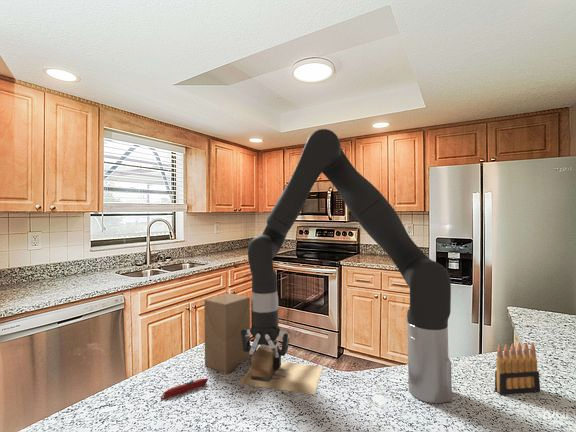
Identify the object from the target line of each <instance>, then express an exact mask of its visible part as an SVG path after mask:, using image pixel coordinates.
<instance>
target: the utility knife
mask: <svg viewBox="0 0 576 432" xmlns="http://www.w3.org/2000/svg"><path fill="white" fill-rule="evenodd" d="M208 379H209V378H200V379H198V380H191V381H189V382H187V383H186V382H185V383H184V384H180V385H177V386H174V387H171V388H169V389H167V390H166V391H164V392H163V393H162V395H161V397H160V400H166V399H168V398H171V397H175V396H178V395H182V394H185V393H187V392H190V391H193V390H197V389H199V388H203V387H205V386H206V385H207V383H208Z"/></svg>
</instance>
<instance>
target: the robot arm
mask: <svg viewBox="0 0 576 432" xmlns="http://www.w3.org/2000/svg"><path fill="white" fill-rule="evenodd" d="M321 174H322V175H324V176H325V178H327V180H329V182H330V183H331V184H332V185H333V186H334V188H335V189H336V191H337V192H338V194H339V196H340V198H341V199H342V201H343V202H344V204H345V206H346V207H347V209H348V210H349V211H350V213H351V215H352V216H353V218H354V219H355V220H356V221H357V222H358V223H359V225H360V227H361V228H362V229H363V230H364V231H365V232H366V233H367V234H368V235H369V236H370V238H371V239H372V240H373V241H374V242H375V243H376V244H377V245H378V246H379V247H380V248H381V249H382V250H383V251H384V252H385V253H386V254H387V255H388V256H389V258H390V260H391V261H392V262H393V264H394V266H396V268H397V270H398V271H399V273H400V274H401V277H402V278H403V280H404V282H405V283H406V285H407V286H408V287H409V308H408V309H407V312H406V319H407V320H406V321H407V322H406V323H407V325H406V326H407V329H406V330H407V372H408V373H407V374H408V377H407V378H408V379H407V382H408V391H409V393H410V394H411V395H412V397H415V398H416V399H418V400H420V401H423V402H427V403H430V404H443V403H447V402H448V403H452V402H453V391H452V390H453V387H452V386H453V385H452V361H451V359H450V358H449V319H450V316H451V307H452V305H451V302H452V301H451V300H452V299H451V298H452V286H451V285H452V284H451V277H450V273H449V272H448V270H447V269H446V268H445V266H443V265H442V264H440V263H438V262H437V261H434V260H433V259H431V258H430V257H428V255H426V254H425V253H424V251H422V250H421V248H420V247H419V246H418V245H417V244H416V243H415V241H413V240H412V238H411V237H410V235H409V233H408V232H407V229H406V228H405V226H404V224H403V222H402V220H401V218H400V216H399V215H398V213H397V212H396V210H395V209H394V208H393V206H392V205H391V204H390V203H389V200H387V199H386V197H385V196H384V195H383V194H382V193H381V192H380V191H379V190H378V189H377V187H376V186H375V185H374V184H373V183H372V182H370V181H369V180H368V179H367V178H366V177H365V176H363V175H362V174H361V173H360V172H359V171H358V170H357V169H356V168H355V167H354V165H353V164H352V163H351V161H350V160H349V158H348V157H347V155H346V154H345V152H344V150H343V149H342V147H341V143H340V139H339V137H338V135H337V134H336V133H335V132H334V131H332V130H330V129H327V128H320V129H317V130H315V131H314V132H312V133H311V134H310V135H309V136H308V138H307V140H306V142H305V144H304V147H303V150H302V153H301V155H300V157H299V160H298V162H297V165H296V167H295V169H294V172H293V173H292V175H291V177H290V179H289V180H288V182H287V184H286V186H285V187H284V189H283V190H282V193H281V195H280V196H279V198H278V199H277V200H276V203H275V204H274V206H273V208H271V209H272V210H271V211H270V213H269V214H268V217H267V219H266V226H265V228H264V230H263V232H262V234H261V235H259V236H258V235H257V236H255V237H253V239H251V240H250V242H249V244H248V246H247V259H248V263H249V264H248V265H249V270H250V273H251V299H250V325H251V326H250V328H247V327H245V328H244V329H243V330H242V331H241V337H242V344H243V350H244V352H249V353H250V358H249V359H250V362H249V364H250V365H251V356H252V355H253V354H254V353H255V352H256V350H257V349H258V348H259V346H261V345H267V346H270V348H271V350H272V351H273V353H274V355H275V357H274V370H275V371H277V370H278V369H279V368H280V366H281V362H282V356H283V357H284V356H286V355H287V353H288V350H289V345H290V344H289V341H290V336H291V333H290V331H289V330H286V331H282V330H281V328H280V327H279V296H278V275H277V272H276V271H275V270H274V261H273V260H274V259H273V258H275V257H276V256H277V254H278V253H279V251H280V250H281V248H282V246H283V244H284V242H285V240H286V237H287V234H288V233H289V231H290V230H291V229H292V227H293V225H294V223H295V222H296V220H297V218H298V217H299V215H300V214H301V211H302V210H303V207H304V206H305V203H306V202H307V199H308V197H309V194H310V192H311V191H312V188H313V187H314V185H315V183H316V181H317V179H319V177H320V175H321ZM249 335H250V336H252V337H253V339H254V340H253V342H252V344H251V338H250V339H249ZM278 337H280V340H281V341H282V343H281V347H280V343H279V341H278V339H277V338H278Z"/></svg>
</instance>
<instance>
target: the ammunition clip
mask: <svg viewBox="0 0 576 432" xmlns="http://www.w3.org/2000/svg"><path fill="white" fill-rule="evenodd" d="M536 351H537V349H536V346H535V344H534V342H531V343H530V345H528V343H527V342H525V343H524V344H523V348H522V345H521V342H518V343H517V346H515V344H514V343H511V345H510V347H509V345H508V343H506V344H504V349H503V347H502V344H501V343H499V344H498V345H497V352H496V353H497V354H496V364H495V365H496V366H495V368H496V370H495V371H494V391H495V392H497V393H498V394H499V395H501V396H503V395H506V396H507V395H519V394H520V395H521V394H531V393H532V394H533V393H541V383H540V371H539V370H538V359H537V353H536Z"/></svg>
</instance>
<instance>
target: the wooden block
mask: <svg viewBox="0 0 576 432" xmlns="http://www.w3.org/2000/svg"><path fill="white" fill-rule="evenodd" d="M203 302H204V304H203V306H204V307H203V308H204V309H203V311H204V324H203V325H204V365H205V366H206V367H209V368H210V369H212V370H215V371H217V372H219V373H220V374H221V373H222V374H224V375H229V374H230V373H232V372H234V371H236V369H237V368H238V367H239V366H240V365H241V363H243V362H244V361H247V360H249V359H250V353H249V352H244V350H243V344H242V337H241V331H242V330H243V329H244V328H245V327H247V328H251V299H250V297H249V296H245V295H240V294H235V293H224V294H220V295H217V296H212V297H208V298H205V299H204V301H203ZM249 339H250V340H251V334H250V335H249Z"/></svg>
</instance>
